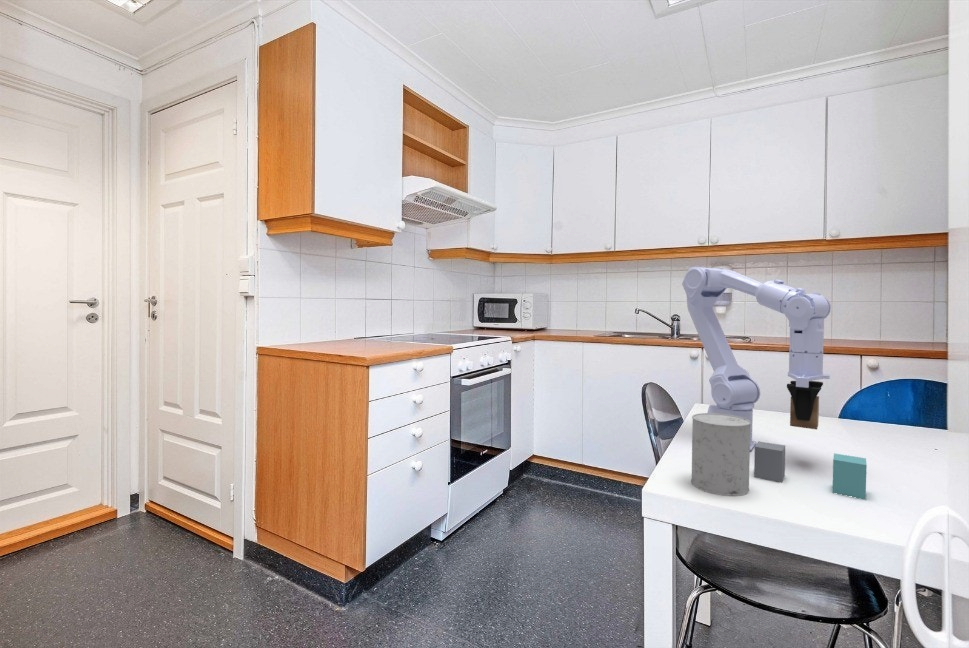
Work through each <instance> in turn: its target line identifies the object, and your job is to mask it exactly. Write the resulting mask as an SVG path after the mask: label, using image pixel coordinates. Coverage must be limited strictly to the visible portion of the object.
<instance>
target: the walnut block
mask: <svg viewBox="0 0 969 648" xmlns="http://www.w3.org/2000/svg"><path fill="white" fill-rule="evenodd" d="M819 409H820V396H818V395H817V396H816V399H815V401H814V405H813V410H812V415H811V418H810V420H809V421H805V420H798V419H797V417H796V414H795V408H794V403H793V399H792V397H791V396H790V409H789V411H790V415H789V417H790V418H789V426H790V427H795V428H802V429H811V430H818V427H819V418H820V416H819V415H820V413H819V411H820V410H819Z"/></svg>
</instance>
